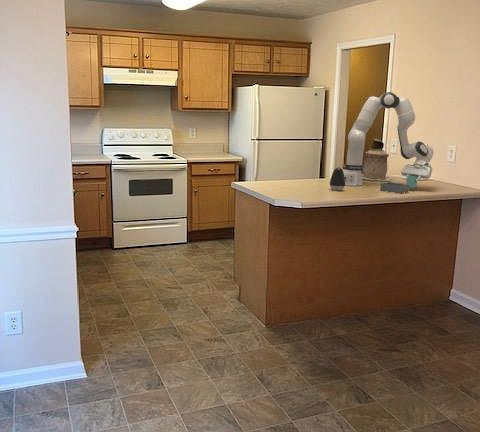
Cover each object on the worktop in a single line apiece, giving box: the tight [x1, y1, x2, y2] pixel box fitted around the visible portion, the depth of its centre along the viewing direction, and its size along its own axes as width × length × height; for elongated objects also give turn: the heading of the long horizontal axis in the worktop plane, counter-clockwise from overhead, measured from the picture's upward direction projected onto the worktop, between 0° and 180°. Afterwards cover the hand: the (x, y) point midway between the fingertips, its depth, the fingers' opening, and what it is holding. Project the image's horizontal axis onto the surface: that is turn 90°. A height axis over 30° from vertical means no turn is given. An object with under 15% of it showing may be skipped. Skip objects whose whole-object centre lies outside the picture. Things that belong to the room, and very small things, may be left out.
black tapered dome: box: [329, 166, 346, 192], centre depth 344 cm, size 10×10×15 cm
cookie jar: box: [362, 137, 392, 182], centre depth 407 cm, size 25×25×32 cm
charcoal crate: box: [379, 181, 410, 194], centre depth 349 cm, size 12×15×5 cm
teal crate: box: [406, 175, 418, 189], centre depth 358 cm, size 6×5×8 cm
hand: (411, 180), depth 357 cm, fingers closed on teal crate, 5 cm apart
